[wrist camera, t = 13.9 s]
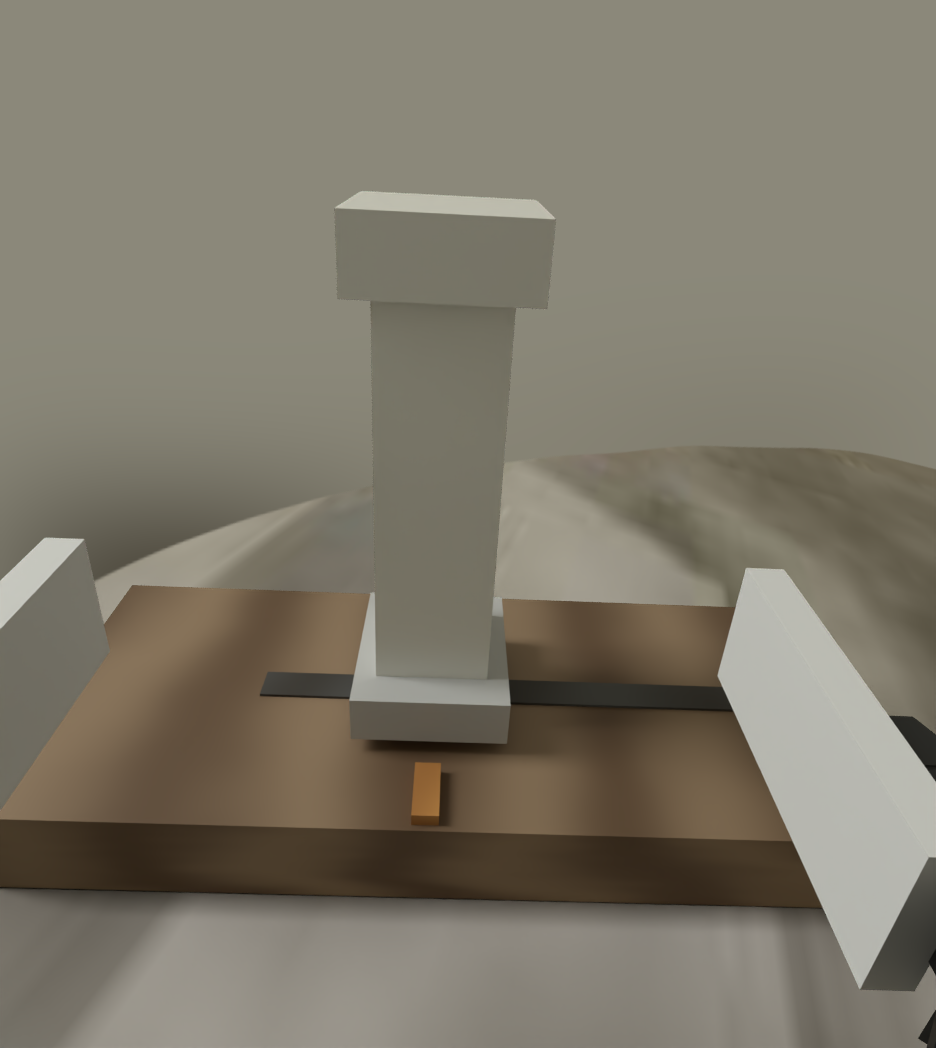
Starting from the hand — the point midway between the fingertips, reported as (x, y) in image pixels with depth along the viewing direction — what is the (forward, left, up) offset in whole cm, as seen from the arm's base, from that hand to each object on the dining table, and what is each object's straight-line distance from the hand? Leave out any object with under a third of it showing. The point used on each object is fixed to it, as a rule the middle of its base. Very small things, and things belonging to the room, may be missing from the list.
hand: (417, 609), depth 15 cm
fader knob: (0, -8, -9) cm, 12 cm away
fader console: (0, -8, -12) cm, 15 cm away
